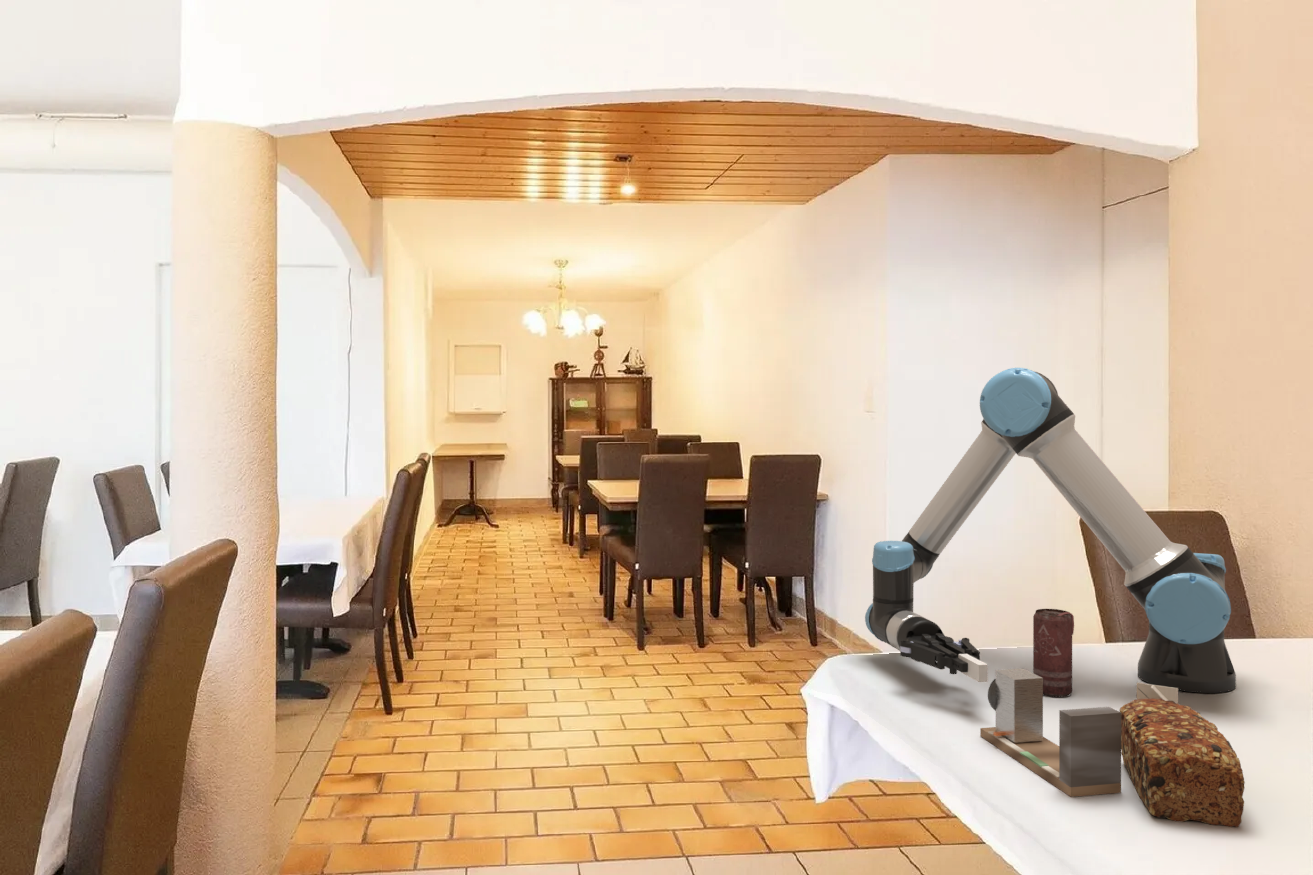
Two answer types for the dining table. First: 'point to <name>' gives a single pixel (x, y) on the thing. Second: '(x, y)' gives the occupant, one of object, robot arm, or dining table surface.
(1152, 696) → the architectural model
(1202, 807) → the bread
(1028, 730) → the brushed steel block
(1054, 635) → the can
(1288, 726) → the dining table surface
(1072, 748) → the gauge body
